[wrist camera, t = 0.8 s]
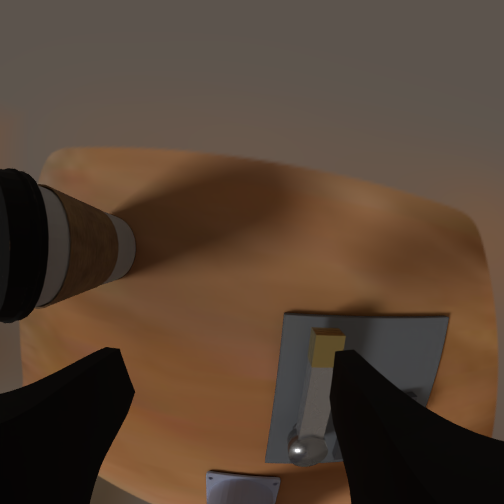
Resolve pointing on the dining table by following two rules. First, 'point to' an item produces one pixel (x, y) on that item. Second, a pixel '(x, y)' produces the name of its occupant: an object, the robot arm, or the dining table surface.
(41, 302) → the coffee cup
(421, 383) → the panel
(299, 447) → the clip
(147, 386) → the dining table surface
